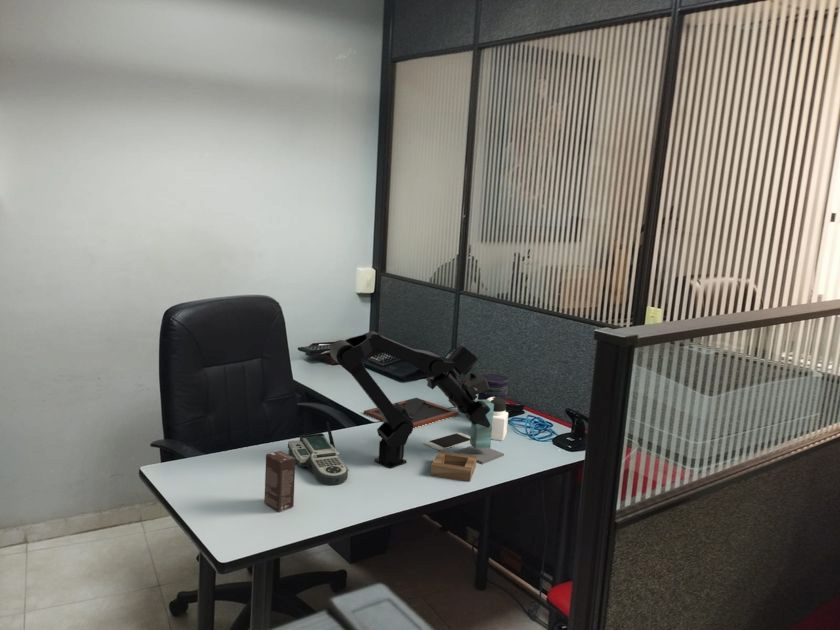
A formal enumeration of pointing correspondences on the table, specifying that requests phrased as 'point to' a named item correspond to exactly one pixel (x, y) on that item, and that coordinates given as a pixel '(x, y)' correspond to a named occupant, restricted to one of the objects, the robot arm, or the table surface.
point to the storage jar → (495, 387)
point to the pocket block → (453, 466)
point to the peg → (482, 430)
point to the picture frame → (419, 411)
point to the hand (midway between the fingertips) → (486, 423)
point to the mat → (481, 454)
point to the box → (279, 481)
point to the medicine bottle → (499, 418)
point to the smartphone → (448, 441)
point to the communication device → (319, 457)
